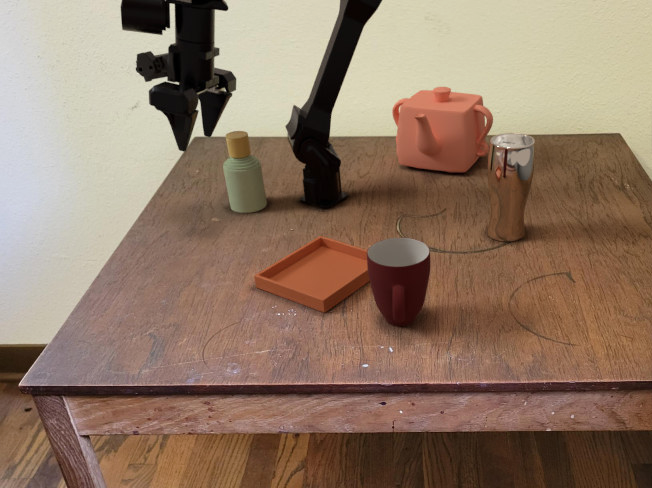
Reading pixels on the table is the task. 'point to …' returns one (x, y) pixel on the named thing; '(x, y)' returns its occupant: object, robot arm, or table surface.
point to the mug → (399, 278)
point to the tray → (317, 274)
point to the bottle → (245, 184)
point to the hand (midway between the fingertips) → (195, 143)
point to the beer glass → (509, 184)
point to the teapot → (441, 130)
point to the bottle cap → (238, 144)
